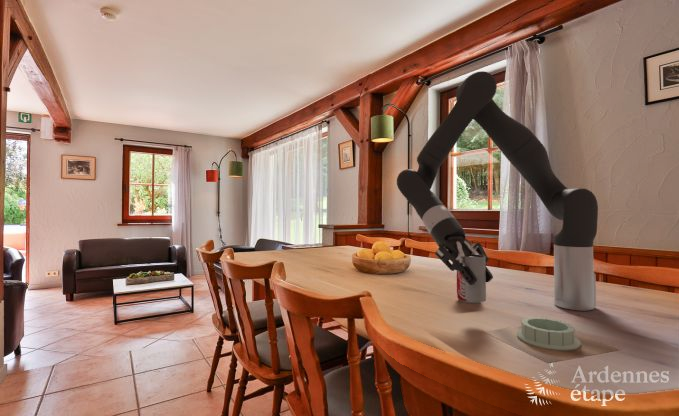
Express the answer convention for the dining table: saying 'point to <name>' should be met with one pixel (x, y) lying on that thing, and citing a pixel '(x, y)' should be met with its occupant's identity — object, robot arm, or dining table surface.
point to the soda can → (461, 289)
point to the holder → (548, 334)
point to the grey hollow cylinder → (479, 270)
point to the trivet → (550, 356)
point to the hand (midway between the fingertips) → (481, 281)
